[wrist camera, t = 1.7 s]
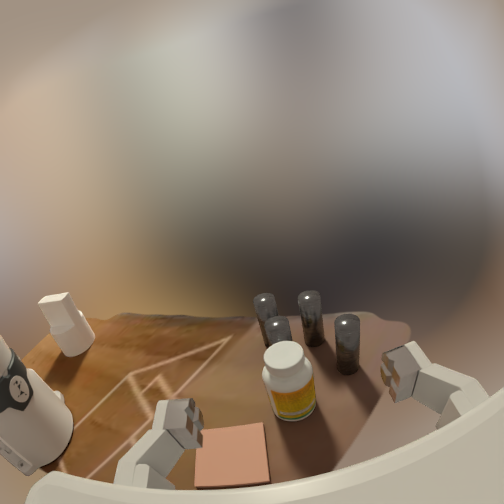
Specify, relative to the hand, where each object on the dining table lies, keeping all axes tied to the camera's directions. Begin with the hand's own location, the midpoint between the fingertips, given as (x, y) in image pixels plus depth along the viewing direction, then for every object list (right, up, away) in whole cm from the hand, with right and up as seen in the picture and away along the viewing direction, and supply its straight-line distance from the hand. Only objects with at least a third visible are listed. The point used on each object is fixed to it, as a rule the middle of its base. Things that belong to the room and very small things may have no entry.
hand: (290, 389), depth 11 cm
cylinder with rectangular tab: (-39, -15, +41) cm, 59 cm away
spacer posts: (+6, -9, +28) cm, 30 cm away
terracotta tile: (-4, -17, +15) cm, 23 cm away
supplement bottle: (+4, -13, +20) cm, 24 cm away
